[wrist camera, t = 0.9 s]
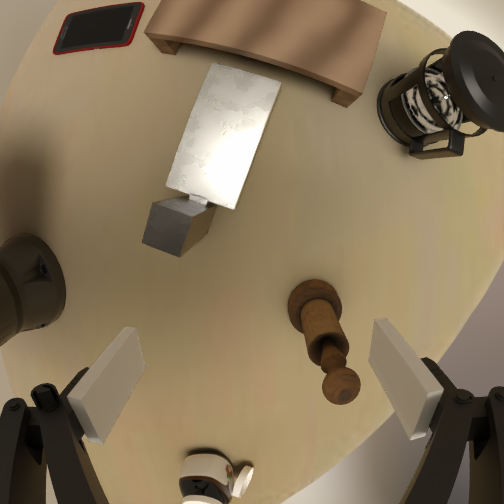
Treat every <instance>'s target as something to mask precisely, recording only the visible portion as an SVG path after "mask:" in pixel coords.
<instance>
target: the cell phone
mask: <svg viewBox="0 0 504 504" xmlns="http://www.w3.org/2000/svg"><path fill="white" fill-rule="evenodd" d="M144 7H145V5H144V4H143V3H142V2H132V3H124V4H123V5H122V4H117V5H116V6H115V5H110V6H104V7H99V8H93V9H88V10H83V11H79V12H75V13H71V14H69V15H67V16H66V18H65V20H64V22H63V25H62V27H61V30H60V32H59V35H58V37H57V40H56V43H55V45H54V48H53V54H55V55H60V54H66V53H72V52H79V51H86V50H94V49H97V48H99V49H103V48H113V47H124V46H128V45H130V44H131V42H132V40H133V38H134V35H135V32H136V29H137V27H138V24H139V21H140V18H141V16H142V13H143V11H144Z"/></svg>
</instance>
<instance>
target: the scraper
mask: <svg viewBox="0 0 504 504" xmlns="http://www.w3.org/2000/svg"><path fill="white" fill-rule="evenodd" d="M281 83H282V82H279V81H276V80H273V79H270V78H267V77H264V76H260V75H257V74H254V73H250V72H247V71H243V70H240V69H236V68H232V67H229V66H225V65H221V64H217V63H212V65H211V67H210V69H209V72H208V74H207V76H206V78H205V81H204V83H203V86H202V88H201V90H200V93H199V95H198V98H197V100H196V103H195V105H194V108H193V110H192V113H191V115H190V118H189V120H188V123H187V126H186V128H185V131H184V134H183V136H182V139H181V142H180V145H179V147H178V150H177V153H176V156H175V159H174V162H173V165H172V168H171V171H170V174H169V177H168V180H167V183H166V186H167V187H169V188H172V189H175V190H178V191H181V192H184V193H187V194H190V196H184V197H179V198H173V199H168V200H163V201H158V202H153V204H152V207H151V211H150V214H149V218H148V221H147V225H146V229H145V232H144V236H143V240H142V243H143V244H146V245H148V246H151V247H154V248H156V249H159V250H161V251H164V252H167V253H169V254H172V255H175V256H177V257H181V256H182V255H183V254H184V253H185V252H186V251H188V250H189V249H190V248H191V247H192V246H193V245H194V244H195V243H197V242H198V241H199V240H200V239H201V238H202V237H203V236H205V235H206V234H207V233H208V230H209V227H210V224H211V221H212V218H213V215H214V212H215V209H216V206H217V205H215V204H212V203H211V202H213V203H216V204H219V205H222V206H224V207H227V208H230V209H233V210H234V209H235V208H236V207H237V205H238V202H239V199H240V196H241V193H242V191H243V188H244V185H245V182H246V180H247V177H248V174H249V171H250V169H251V166H252V163H253V161H254V158H255V155H256V152H257V150H258V147H259V144H260V142H261V139H262V137H263V134H264V131H265V129H266V126H267V123H268V121H269V118H270V116H271V113H272V110H273V108H274V105H275V103H276V100H277V97H278V95H279V92H280V89H281Z"/></svg>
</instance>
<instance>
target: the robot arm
mask: <svg viewBox="0 0 504 504" xmlns="http://www.w3.org/2000/svg"><path fill="white" fill-rule="evenodd" d="M64 304H65V284H64V279H63V275H62V272H61V269H60V266H59V264H58V262H57V260H56V258H55V256H54V254H53V253H52V251H51V250H50V249H49V247H48V246H47V245H46V244H45V243H44V242H43V241H42V240H41V239H39V238H38V237H36V236H34V235H31V234H21V235H17V236H14V237H12V238H10V239H8V240H7V241H6V242H5V243H4V244H3V245H2V246H1V247H0V346H2V345H3V344H4V343H6V342H7V341H8V340H9V339H11V338H12V337H13V336H15V335H16V334H18V333H19V332H23V331H29V330H33V329H39V328H44V327H46V326H48V325H50V324H51V323H52V322H54V321H55V320H56V319H57V318H58V317H59V316H60V315H61V313H62V311H63V308H64ZM369 363H370V365H371V366H372V368H373V370H374V372H375V374H376V376H377V378H378V379H379V381H380V383H381V385H382V387H383V389H384V391H385V393H386V394H387V396H388V398H389V400H390V402H391V404H392V406H393V408H394V410H395V412H396V414H397V415H398V417H399V419H400V421H401V423H402V425H403V427H404V429H405V431H406V433H407V435H408V437H409V439H410V440H413V439H417V438H420V437H424V436H425V435H426V433H427V430H428V428H429V427H430V429H431V431H432V432H433V433H432V435H431V437H430V439H429V442H428V444H427V446H426V450H425V452H424V454H423V457H422V459H421V461H420V463H419V466H418V468H417V470H416V472H415V474H414V476H413V479H412V480H411V482H410V485H409V486H408V489H407V490H406V492H405V494H404V496H403V498H402V500H401V501H400V503H399V504H447V502H448V499H449V497H450V494H451V491H452V489H453V486H454V483H455V480H456V477H457V474H458V471H459V468H460V464H461V461H462V458H463V454H464V450H465V446H466V442H467V441H469V453H470V489H469V504H504V387H501V386H498V387H494V388H492V389H491V390H490V392H489V394H488V396H487V397H474V396H473V394H472V393H471V392H469V391H466V390H464V389H457V388H456V387H455V386H454V385H453V383H452V382H451V381H450V380H449V378H448V377H447V376H446V375H445V374H444V372H443V371H442V370H441V369H440V368H439V366H438V365H437V364H436V363H435V362H434V361H432V360H431V359H429V358H427V357H426V358H421V359H420V358H419V357H418V355H417V354H416V353H415V352H414V350H413V349H412V348H411V347H410V345H409V344H408V343H407V342H406V341H405V339H404V338H403V337H402V336H401V334H400V333H399V332H398V331H397V330H396V328H395V327H394V326H393V325H392V324H391V322H390V321H389V320H388V319H387V318H383V319H374V326H373V334H372V341H371V348H370V355H369ZM145 368H146V366H145V362H144V358H143V354H142V350H141V346H140V341H139V337H138V333H137V328H136V327H124V328H123V329H122V330H121V332H120V333H119V334H118V335H117V336H116V337H115V339H114V340H113V341H112V342H111V343H110V344H109V346H108V347H107V348H106V349H105V350H104V352H103V353H102V354H101V355H100V356H99V358H98V359H97V360H96V361H95V362H94V364H93V365H92V366H91V367H90V368H88V367H86V368H84V369H83V370H81V371H80V372H78V373H77V375H76V376H75V377H74V379H72V381H71V382H70V384H68V385H67V387H66V388H65V389H64V390H63V391H62V393H61V394H60V395H59V393H58V391H57V389H56V387H55V386H54V385H53V384H49V383H45V384H40V385H38V386H36V387H35V388H34V389H33V390H32V391H31V397H32V399H33V401H34V403H35V405H36V407H28V406H27V404H26V402H25V401H24V399H22V398H13V399H10V400H9V401H7V402H6V403H5V405H4V407H3V410H2V413H1V416H0V504H46V470H47V465H48V469H49V473H50V477H51V481H52V485H53V488H54V492H55V495H56V499H57V502H58V504H109V502H108V500H107V498H106V496H105V494H104V491H103V489H102V487H101V485H100V483H99V480H98V478H97V476H96V473H95V471H94V468H93V466H92V463H91V461H90V458H89V456H88V453H87V450H86V448H85V445H84V442H83V441H82V439H81V438H82V436H83V435H84V433H85V435H86V437H87V438H88V440H89V442H93V443H97V444H101V445H103V444H104V442H105V441H106V439H107V437H108V435H109V433H110V431H111V429H112V428H113V426H114V424H115V422H116V420H117V418H118V417H119V415H120V413H121V411H122V409H123V407H124V406H125V404H126V402H127V400H128V398H129V397H130V395H131V393H132V391H133V389H134V388H135V386H136V384H137V382H138V381H139V379H140V377H141V375H142V374H143V372H144V370H145Z"/></svg>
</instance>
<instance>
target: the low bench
mask: <svg viewBox="0 0 504 504" xmlns="http://www.w3.org/2000/svg"><path fill="white" fill-rule="evenodd" d="M386 14H387V12H384V11H382V10H380V9H378V8H376V7H374V6H372V5H369V4H367V3H365V2H363V1H360V0H161V2H160V4H159V6H158V7H157V9H156V11H155V12H154V14H153V16H152V18H151V20H150V21H149V23H148V25H147V27H146V29H145V31H144V33H145V34H146V35H147V37H148V38H149V39H150V40H151V41H152V42H153V43H154V44H155V46H156V47H157V48H158V49H159V50H160V51H161V52H162V53H166V54H172V55H176V53H177V51H178V49H179V47H180V45H181V43H182V42H183V43H189V44H194V45H199V46H204V47H209V48H214V49H218V50H223V51H227V52H231V53H235V54H239V55H243V56H246V57H250V58H254V59H257V60H261V61H264V62H267V63H271V64H274V65H277V66H280V67H283V68H286V69H289V70H292V71H295V72H298V73H300V74H303V75H306V76H309V77H311V78H314V79H317V80H319V81H322V82H324V83H327V84H329V85H332V86H334V87H336V89H335V92H334V94H333V97H332V100H331V101H332V102H334V103H336V104H339V105H341V106H343V107H346V108H347V107H348V106H349V105H350V104H351V103H353V102H354V101H355V100H356V99H357V98H358V97H359V96H360V95H362V94H363V91H364V88H365V85H366V82H367V79H368V75H369V72H370V69H371V66H372V62H373V59H374V56H375V53H376V49H377V46H378V42H379V39H380V36H381V32H382V29H383V25H384V21H385V18H386Z"/></svg>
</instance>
